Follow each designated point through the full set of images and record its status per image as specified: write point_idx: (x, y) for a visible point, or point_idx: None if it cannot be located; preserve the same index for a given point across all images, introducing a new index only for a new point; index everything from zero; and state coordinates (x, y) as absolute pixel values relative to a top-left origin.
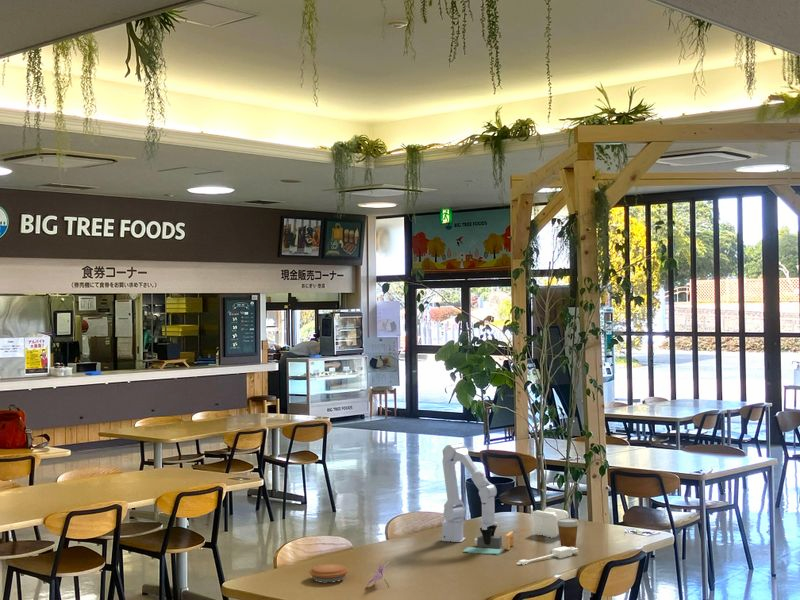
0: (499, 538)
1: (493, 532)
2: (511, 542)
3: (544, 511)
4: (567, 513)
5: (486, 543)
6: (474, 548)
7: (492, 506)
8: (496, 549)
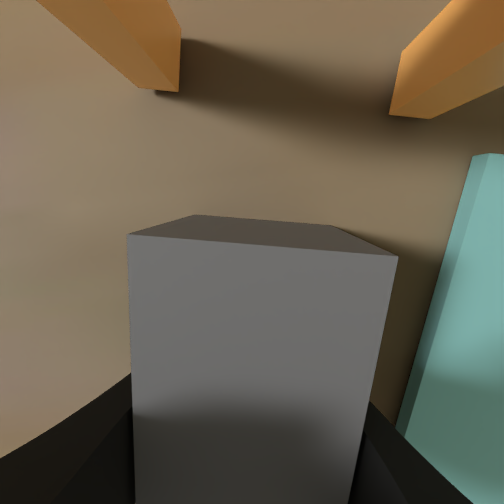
0: (371, 253)
1: (76, 490)
2: (160, 31)
3: None
4: None
5: None
6: None
7: None
8: (496, 249)
